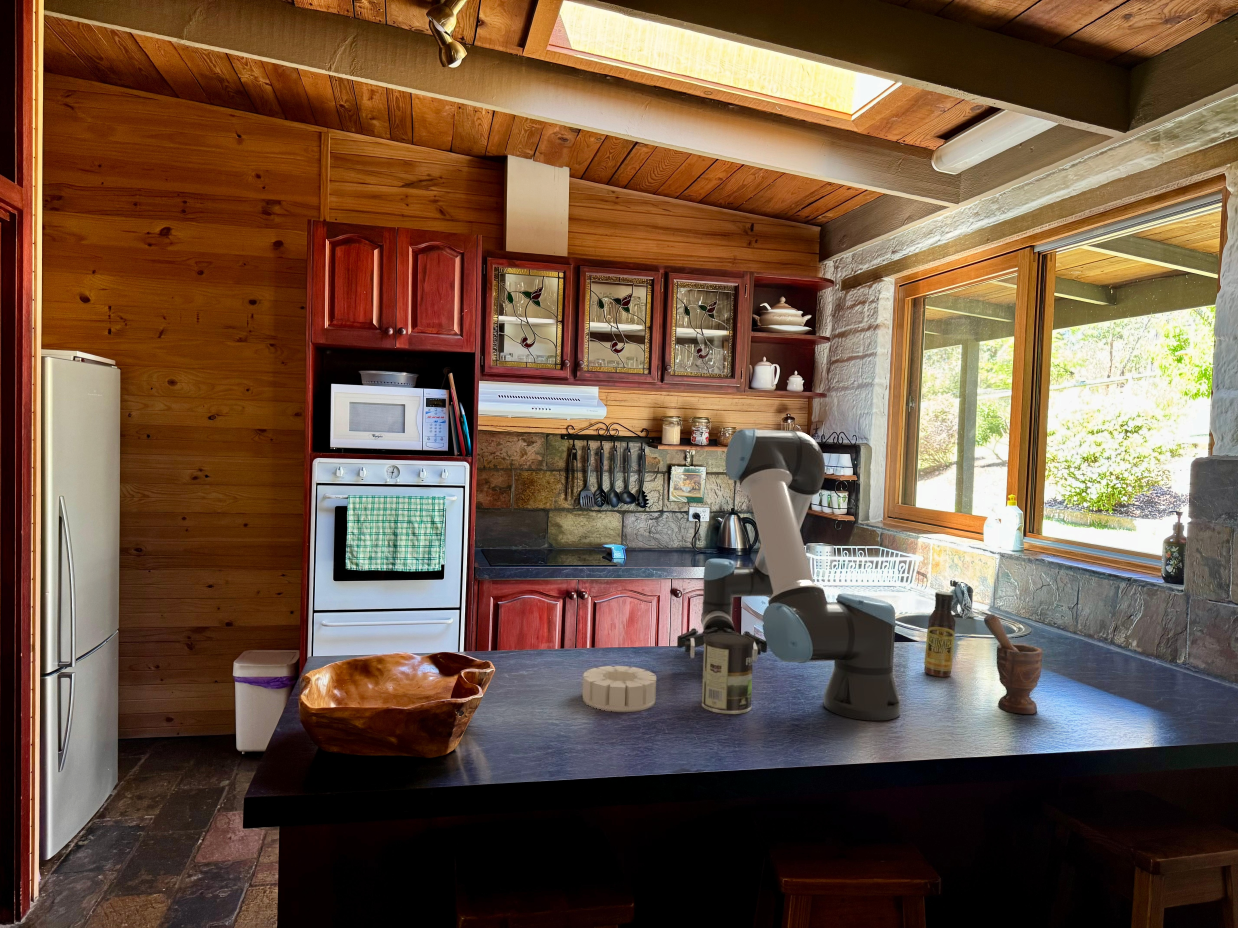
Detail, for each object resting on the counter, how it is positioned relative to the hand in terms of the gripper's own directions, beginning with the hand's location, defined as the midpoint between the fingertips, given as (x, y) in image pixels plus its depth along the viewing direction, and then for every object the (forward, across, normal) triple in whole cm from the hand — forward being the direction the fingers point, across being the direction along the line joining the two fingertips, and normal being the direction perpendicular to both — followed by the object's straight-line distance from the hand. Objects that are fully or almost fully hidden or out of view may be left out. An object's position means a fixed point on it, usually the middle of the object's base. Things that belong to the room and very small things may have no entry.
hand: (724, 653), depth 178 cm
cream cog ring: (+10, +22, -8) cm, 25 cm away
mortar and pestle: (+2, -60, -8) cm, 61 cm away
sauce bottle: (-23, -53, -8) cm, 58 cm away
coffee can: (+10, 0, -8) cm, 13 cm away
